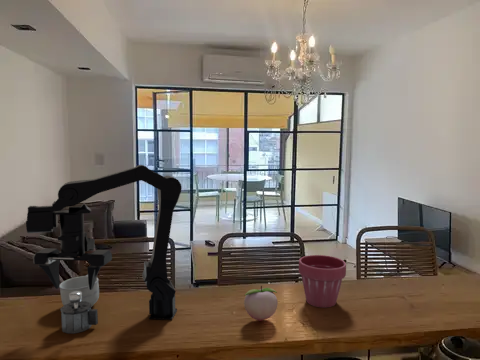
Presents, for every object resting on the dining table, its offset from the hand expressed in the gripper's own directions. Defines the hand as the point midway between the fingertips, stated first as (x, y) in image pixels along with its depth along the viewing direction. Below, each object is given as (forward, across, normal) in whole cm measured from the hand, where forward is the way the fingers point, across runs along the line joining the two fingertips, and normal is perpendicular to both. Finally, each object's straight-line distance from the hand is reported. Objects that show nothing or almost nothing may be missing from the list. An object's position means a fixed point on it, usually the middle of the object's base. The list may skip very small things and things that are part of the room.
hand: (74, 288), depth 105 cm
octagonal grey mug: (+10, 0, 0) cm, 11 cm away
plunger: (+9, 0, 0) cm, 9 cm away
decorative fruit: (+10, -49, -7) cm, 51 cm away
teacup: (+11, +5, -14) cm, 18 cm away
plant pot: (+10, -67, -22) cm, 72 cm away
